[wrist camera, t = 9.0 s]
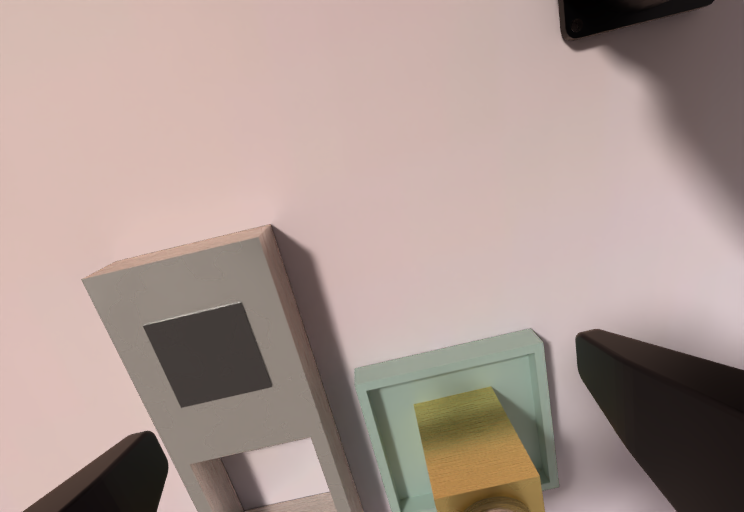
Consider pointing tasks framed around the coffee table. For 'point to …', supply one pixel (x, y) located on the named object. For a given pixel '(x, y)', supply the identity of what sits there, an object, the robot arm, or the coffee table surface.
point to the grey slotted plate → (222, 362)
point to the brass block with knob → (476, 456)
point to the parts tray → (445, 378)
